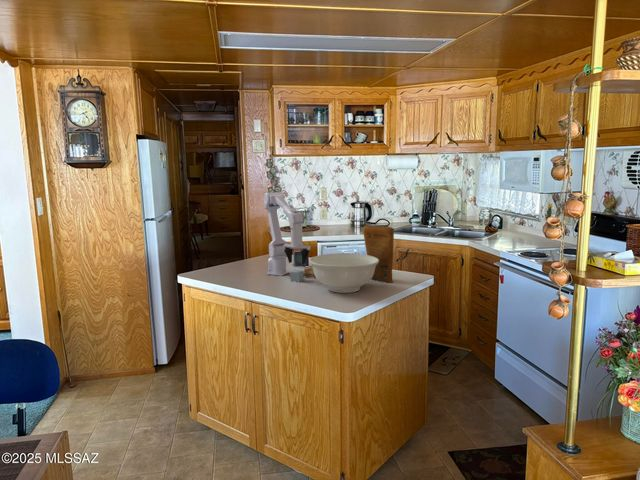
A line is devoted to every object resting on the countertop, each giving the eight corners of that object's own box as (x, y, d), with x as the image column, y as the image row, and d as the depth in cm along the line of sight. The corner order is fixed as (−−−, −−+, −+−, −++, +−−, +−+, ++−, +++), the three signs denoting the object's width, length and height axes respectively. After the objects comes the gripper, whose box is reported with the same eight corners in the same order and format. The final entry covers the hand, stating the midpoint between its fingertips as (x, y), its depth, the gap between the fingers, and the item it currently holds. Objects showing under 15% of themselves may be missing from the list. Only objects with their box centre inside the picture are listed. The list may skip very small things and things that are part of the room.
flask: (292, 266, 275) (292, 248, 274) (294, 265, 278) (294, 247, 276) (308, 267, 273) (308, 248, 271) (309, 266, 276) (309, 248, 274)
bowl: (337, 277, 247) (337, 250, 244) (391, 287, 226) (391, 257, 224) (295, 290, 222) (295, 259, 220) (351, 302, 202) (352, 269, 199)
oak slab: (304, 273, 249) (304, 268, 249) (309, 270, 254) (309, 266, 254) (313, 274, 247) (313, 269, 246) (318, 271, 252) (318, 267, 251)
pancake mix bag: (388, 284, 231) (389, 228, 227) (361, 278, 246) (361, 224, 241) (397, 282, 236) (398, 226, 231) (369, 276, 250) (370, 223, 246)
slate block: (290, 281, 240) (290, 271, 239) (295, 279, 244) (295, 269, 244) (299, 282, 238) (299, 272, 237) (303, 280, 242) (303, 270, 242)
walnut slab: (303, 277, 250) (303, 273, 249) (308, 275, 255) (308, 270, 255) (313, 278, 247) (313, 274, 247) (318, 276, 252) (318, 271, 252)
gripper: (280, 236, 237) (280, 263, 239) (306, 238, 231) (306, 265, 233) (286, 235, 243) (287, 261, 245) (312, 236, 237) (312, 263, 239)
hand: (297, 263), depth 240 cm, fingers open, 7 cm apart
